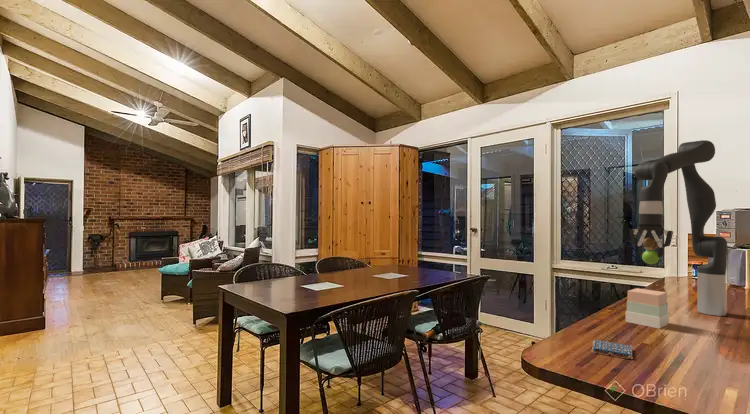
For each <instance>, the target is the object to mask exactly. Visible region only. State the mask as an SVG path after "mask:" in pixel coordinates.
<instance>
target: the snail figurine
mask: <svg viewBox="0 0 750 414" xmlns="http://www.w3.org/2000/svg"><path fill="white" fill-rule="evenodd" d="M643 247H644V250H645V251H644V253H643V254H642V256H641V259H642V261H643V262H644V263H646V264H648V265H654V264H657V263H658V262H659V261H660V257H658V251H657V252H656V251H655V250H658V248H659V246H658V244H657V242H656V241H655V239H651V238H649V237H648V238H646V239H645V240H644V242H643Z"/></svg>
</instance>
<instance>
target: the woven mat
mask: <svg viewBox="0 0 750 414" xmlns="http://www.w3.org/2000/svg"><path fill="white" fill-rule="evenodd" d="M591 346H592V348H591V352H592V353H594V354H599V355H605V356H611V357H617V358H622V359H627V360H633V359H634V357H633V356H634V355H633V350H632V346H631V345H629V344H628V345H627V344H626V343H625V344H623V343H617V342H614V341H612V342H611V341H605V340H602V339H600V340H599V339H596V338H595V339H594V340H593V339H592V345H591Z"/></svg>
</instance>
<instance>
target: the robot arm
mask: <svg viewBox="0 0 750 414" xmlns="http://www.w3.org/2000/svg"><path fill="white" fill-rule="evenodd" d="M715 154H716V146H715V144H714V143H713V142H712V141H710V140H706V139H705V140H704V139H703V140H702V139H701V140H695V141H688V142H682V143H681V144H680V145H679V146H678V149H677V152H672V153H669V154H666V155H663V156H661V157H659V158H655V159H652V160H646V161H643V162H640V163H639V164H637V166H636V167H635V168H634V176H635V177H636V178H637V179H638V180H640V181H651V182H650V183H649V184H648V185H645V186H642V187H641V188H640V191H639V207H638V227H637V228H635V229H630V230H629V234H630V235H629V236H630V239H631V242H632V245H636V246H637V254H638V255H639V256H640V257H642V254H643V253H644V252H645V251H644V250H645V249H644V247H645V246H644V244H643V242H644V240H645V239H646V238H648V237H649V238H651V239H655V241H656V242H657V244H658V248H657V253H658V257H659V259H660V258H663V257H664V256H665V248H667V247H670V246H671V243H672V239H673V236H674V231H673V230H668V229H665V228H664V205H663V190H664V186H665V183H666V180H667V179H668V178H667V177H668V176H669V175H668V174H671V173H673V172H675V171H677V170H680V169H681V173H682V176H683V181H684V186H685V187H684V188H685V194H686V195H685V196H686V202H687V208H688V213H689V220H690V226H691V228H690V229H691V230H690V231H691V248H692V252H693V253H694V255H695V256H697V257H699V258H700V257H701V258H713V260H712V261H711V262H710V263H705V264H701V265H698V266H697V270H696V271H697V279H696V280H697V292H696V293H697V313H700V314H704V315H710V316H721V317H723V316H727V260H728V259H727V258H728V249H729V248H728V242H727V239H726V238H725V237H723V236H714V235H713V236H711V235H705V231H704V230H705V226H706V224H707V223H708V221H709V219H711V216H712V215H713V214H714V213H715V210H716V209H717V203H716V195H715V191H714V189H713V188H712V186H711V185H710V184H709V183H708V182H707V181H706V180H704V178H702V176H701V175H700V174H699V173H698V170H697V168H696V164H700V163H707V162H709V161H711V160H713V158H715ZM638 233H639V235H641V236H640V238H639V241H638V237H637V234H638ZM663 234H664V236H665V241H664V242H663V239H662V237H661V236H662V235H663Z"/></svg>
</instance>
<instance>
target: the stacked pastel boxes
mask: <svg viewBox="0 0 750 414" xmlns="http://www.w3.org/2000/svg"><path fill="white" fill-rule="evenodd" d="M667 294H668V292H665V291H661V290H660V291H658V290H653V289H645V288H638V287H636V288H633V289H630V290H629V289H628V290H627V300H626V311H625V322H626V323H631V324H636V325H640V326H645V327H650V328H654V329H661V328H663V327H665V326H667V325H669V324H670V320H669V319H670V317H669V316H670V315H669V314H670V313H669V312H668V310H669V309H668V301H667V300H668V299H667V298H668V297H667V296H668V295H667Z"/></svg>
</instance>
